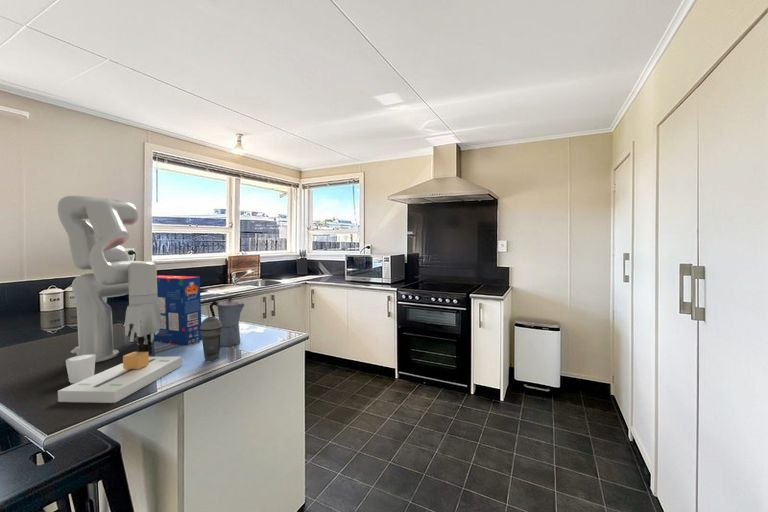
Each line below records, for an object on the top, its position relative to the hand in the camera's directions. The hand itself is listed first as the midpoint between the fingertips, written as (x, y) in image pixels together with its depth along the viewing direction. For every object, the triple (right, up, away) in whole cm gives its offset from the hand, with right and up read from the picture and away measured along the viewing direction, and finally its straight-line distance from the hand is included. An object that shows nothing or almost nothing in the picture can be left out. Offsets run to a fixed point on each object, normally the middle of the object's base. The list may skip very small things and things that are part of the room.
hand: (145, 355), depth 105 cm
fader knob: (0, -2, -4) cm, 4 cm away
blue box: (-16, -5, +36) cm, 40 cm away
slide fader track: (0, -6, -7) cm, 9 cm away
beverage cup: (+16, -5, +11) cm, 20 cm away
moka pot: (+13, -5, +30) cm, 32 cm away
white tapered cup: (-16, -6, -5) cm, 18 cm away
